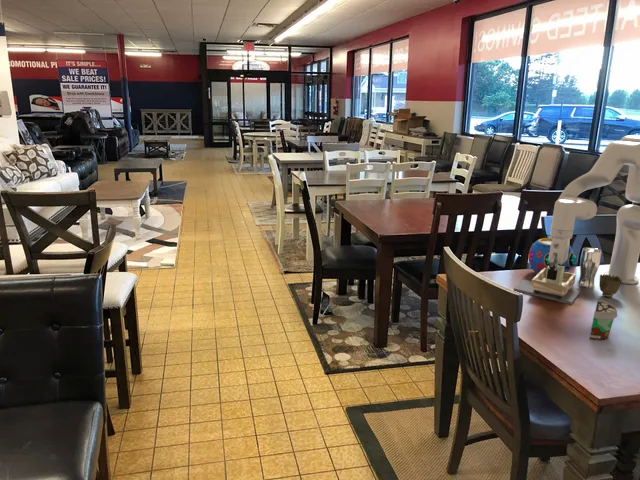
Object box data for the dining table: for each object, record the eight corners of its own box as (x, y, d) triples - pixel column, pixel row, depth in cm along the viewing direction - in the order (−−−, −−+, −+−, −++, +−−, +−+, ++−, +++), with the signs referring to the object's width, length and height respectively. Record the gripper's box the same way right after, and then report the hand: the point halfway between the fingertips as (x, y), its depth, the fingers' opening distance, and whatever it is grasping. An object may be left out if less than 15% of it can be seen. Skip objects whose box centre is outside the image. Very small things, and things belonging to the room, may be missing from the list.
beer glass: (594, 284, 207) (601, 249, 203) (595, 289, 201) (602, 253, 197) (576, 281, 210) (582, 246, 206) (576, 286, 204) (582, 251, 200)
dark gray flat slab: (523, 281, 208) (523, 279, 208) (579, 294, 196) (579, 291, 196) (513, 290, 198) (513, 288, 198) (571, 304, 186) (571, 302, 186)
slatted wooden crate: (542, 281, 205) (544, 267, 204) (573, 288, 199) (575, 274, 197) (529, 293, 192) (531, 279, 190) (562, 301, 185) (565, 286, 184)
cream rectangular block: (548, 280, 198) (550, 263, 196) (561, 283, 195) (564, 266, 193) (544, 284, 194) (547, 266, 192) (558, 287, 191) (561, 269, 189)
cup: (621, 301, 190) (625, 281, 188) (599, 299, 191) (603, 279, 189) (614, 294, 197) (618, 274, 195) (593, 292, 198) (597, 273, 196)
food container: (611, 346, 155) (617, 316, 153) (588, 341, 158) (594, 311, 156) (613, 331, 165) (619, 303, 163) (592, 326, 169) (597, 298, 166)
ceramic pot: (540, 283, 206) (546, 248, 202) (517, 269, 223) (522, 236, 218) (580, 282, 209) (586, 247, 204) (554, 268, 225) (559, 235, 221)
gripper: (566, 239, 180) (559, 284, 185) (577, 230, 193) (570, 272, 198) (544, 235, 184) (537, 279, 189) (556, 226, 198) (549, 268, 202)
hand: (554, 275), depth 194 cm, fingers open, 9 cm apart
